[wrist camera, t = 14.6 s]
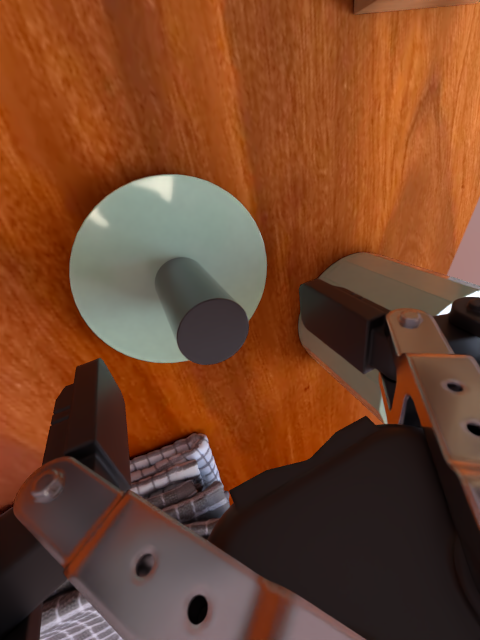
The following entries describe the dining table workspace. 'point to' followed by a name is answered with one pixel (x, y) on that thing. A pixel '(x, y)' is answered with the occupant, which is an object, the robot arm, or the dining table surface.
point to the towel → (168, 495)
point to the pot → (391, 293)
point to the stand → (403, 5)
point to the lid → (169, 270)
